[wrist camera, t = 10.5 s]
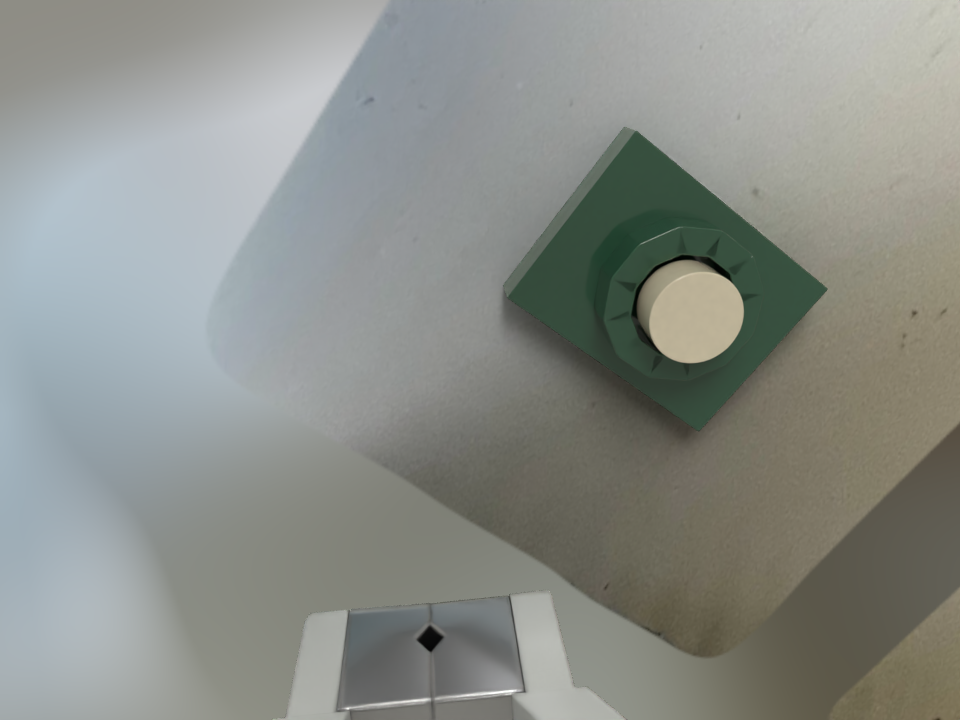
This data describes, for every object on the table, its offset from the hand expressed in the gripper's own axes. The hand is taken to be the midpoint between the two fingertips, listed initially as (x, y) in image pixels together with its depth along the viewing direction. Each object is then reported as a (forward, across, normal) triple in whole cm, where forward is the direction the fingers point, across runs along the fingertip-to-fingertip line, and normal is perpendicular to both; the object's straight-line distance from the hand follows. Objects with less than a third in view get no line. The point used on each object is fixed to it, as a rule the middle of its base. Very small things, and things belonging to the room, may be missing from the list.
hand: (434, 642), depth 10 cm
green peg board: (+27, -11, +4) cm, 29 cm away
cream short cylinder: (+24, -11, +4) cm, 26 cm away
